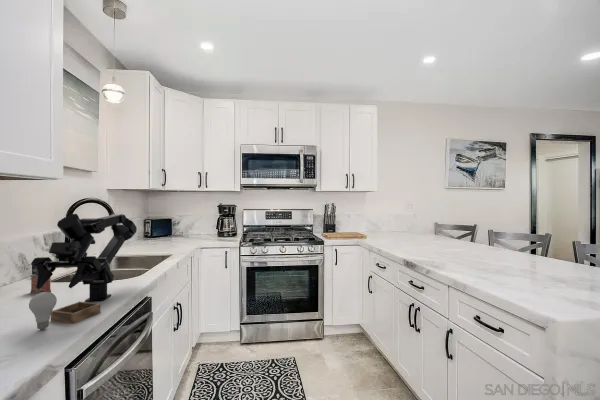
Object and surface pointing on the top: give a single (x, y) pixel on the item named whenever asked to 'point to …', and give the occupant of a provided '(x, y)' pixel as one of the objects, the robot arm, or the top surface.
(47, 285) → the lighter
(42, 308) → the lightbulb
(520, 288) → the top surface
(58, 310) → the frame
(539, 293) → the top surface
